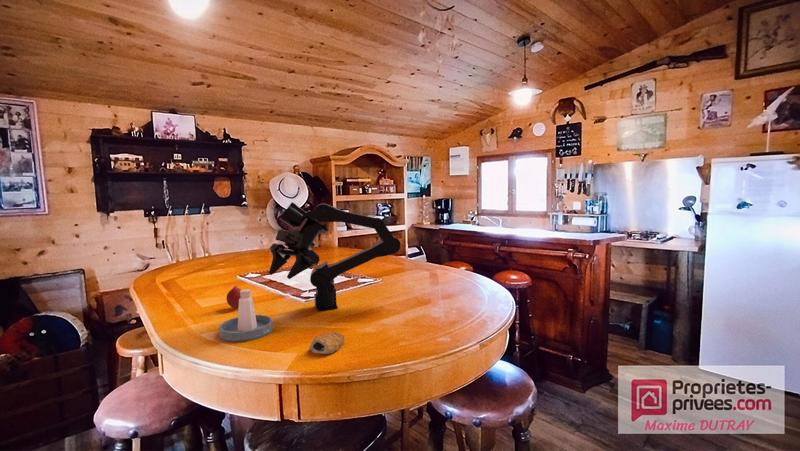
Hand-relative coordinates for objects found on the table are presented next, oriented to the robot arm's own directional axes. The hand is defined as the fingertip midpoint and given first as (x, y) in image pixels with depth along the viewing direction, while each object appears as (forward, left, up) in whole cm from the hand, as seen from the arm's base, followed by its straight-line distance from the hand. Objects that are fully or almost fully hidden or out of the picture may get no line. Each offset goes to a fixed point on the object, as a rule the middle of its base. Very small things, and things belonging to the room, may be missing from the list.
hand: (278, 276), depth 113 cm
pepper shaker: (+10, +6, -13) cm, 17 cm away
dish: (+10, +6, -14) cm, 18 cm away
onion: (+13, -18, -14) cm, 26 cm away
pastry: (-9, +26, -14) cm, 31 cm away
